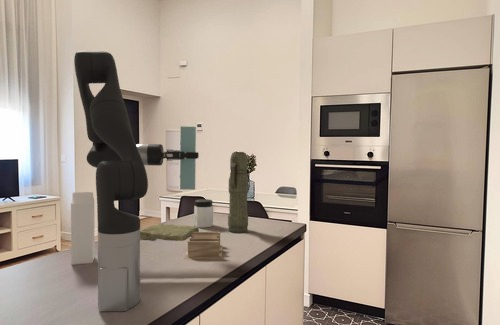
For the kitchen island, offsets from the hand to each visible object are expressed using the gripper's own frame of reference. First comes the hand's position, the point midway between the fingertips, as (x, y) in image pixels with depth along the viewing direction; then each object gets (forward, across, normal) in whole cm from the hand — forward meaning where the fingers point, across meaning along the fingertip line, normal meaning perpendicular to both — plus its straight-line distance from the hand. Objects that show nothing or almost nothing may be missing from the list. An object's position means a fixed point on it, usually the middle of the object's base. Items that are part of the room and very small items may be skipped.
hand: (197, 155), depth 120 cm
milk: (-35, -11, +34) cm, 50 cm away
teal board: (-3, 0, +12) cm, 12 cm away
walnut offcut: (+3, -4, +33) cm, 33 cm away
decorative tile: (-14, +21, +35) cm, 43 cm away
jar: (-1, +39, +34) cm, 52 cm away
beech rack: (+3, -4, +34) cm, 34 cm away
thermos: (+15, +29, +34) cm, 47 cm away
